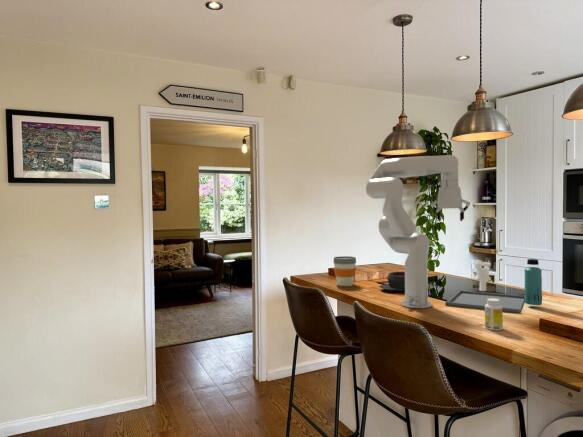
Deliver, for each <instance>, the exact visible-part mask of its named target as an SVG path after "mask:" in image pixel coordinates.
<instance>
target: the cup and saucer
mask: <svg viewBox="0 0 583 437" xmlns="http://www.w3.org/2000/svg"><path fill="white" fill-rule="evenodd" d="M386 279H387V281H388V283H387V284H379V286H378V287H379V288H381V289H383V290H386V291H394V292H398V293H405V271H392V272H389V273H388V275H387V276H386Z"/></svg>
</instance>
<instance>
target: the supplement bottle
mask: <svg viewBox="0 0 583 437" xmlns="http://www.w3.org/2000/svg"><path fill="white" fill-rule="evenodd" d="M503 313H504V312H502V306H501V305H500V300H499V299H494V298H489V299H487V304H486V305H485V310H484V327H485V329H487V330H490V331H501V330H503V328H504V327H503V326H504V325H503Z"/></svg>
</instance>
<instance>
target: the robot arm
mask: <svg viewBox="0 0 583 437" xmlns="http://www.w3.org/2000/svg"><path fill="white" fill-rule="evenodd" d="M436 174H440V181H438V182H437V185H438V186H440V187H439V188H438V196H437V200H435V201H433V202H432V203H430V206H431V208H432V209H433V211H434V212H436V219H437V220H438V222H441V221H442V213H441V211H442V210H443V209H445V210H447V209H458V210H459V212H460V213H459V221H460V222H463V220H464V219H465V212H466V211H467V210H468V208H469V207H470V205H471V202H470V201H468V200H465V199H463V198H462V191H461V190H462V189H461V186H459V159H458V158H457V156H456V155H453V154H446V155H443V154H442V155H422V156H420V155H419V156H407V157H406V156H405V157H404V156H403V157H396V158H388V159H384V160H382V161H381V163H379V165H378V166H377V167H376V169H375V170H374V171H373V173H372V175H371V176H370V177H369V179H368V181H367V182H366V186H365V192H366V195H367V196H368V197H369V198H371V199H384V203H383V208H382V215H383V216H382V217H381V218H380V220H379V222H378V232H379V233H380V235H381V237H382V238H383V240H384V241H385V243H387V245H388V246H389V248H391V249H392V250H393V251H394V252H395V253H399V254H405V255H408V256H407V257H406V259H405V261H404V272H405V292H404V300H402V301H401V305H402V306H403V307H405V308H410V309H427V308H431V307H432V306H433V305H432V304H433V303H432V302H431V301H429V285H428V283H429V281H428V279H429V276H428V271H429V270H428V258H429V257H428V256H429V253H430V252H429V250H430V245H431V244H430V239H429V237H428V236H427V235H426V234H425V233H421V232H418V231H417V232H416V225H415V223H414V222H413V219H412V218H411V217H410V215H409V214H408V213H407V211H406V210H405V208H404V207H403V206H404V205H403V195H404V183H403V181H402V180H401V178H402V179H404V178H413V177H423V176H430V175H436ZM463 203H464V204H465V207H463ZM436 205H437V207H436Z"/></svg>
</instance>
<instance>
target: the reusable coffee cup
mask: <svg viewBox="0 0 583 437" xmlns="http://www.w3.org/2000/svg"><path fill="white" fill-rule="evenodd" d="M356 263H357V259H356V257H355V256H349V255H347V256H346V255H345V256H341V255H340V256H334V257H333V266H334V268H333V270H334V276H335V280H336V285H337V286H340V287H351V286H353V285H354V281H355V276H356V269H357V268H356Z"/></svg>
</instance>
